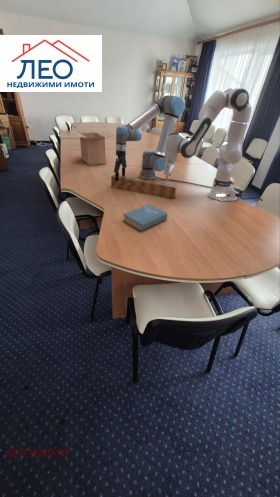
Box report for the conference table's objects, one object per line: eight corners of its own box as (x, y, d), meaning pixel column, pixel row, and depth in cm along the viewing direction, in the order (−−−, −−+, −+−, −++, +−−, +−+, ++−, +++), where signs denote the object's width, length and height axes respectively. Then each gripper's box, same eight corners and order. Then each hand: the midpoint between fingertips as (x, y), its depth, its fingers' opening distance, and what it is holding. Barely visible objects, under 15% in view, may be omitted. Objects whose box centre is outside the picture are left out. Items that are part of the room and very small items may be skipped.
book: (148, 210, 150) (149, 204, 147) (166, 220, 141) (167, 213, 138) (123, 221, 137) (123, 213, 134) (141, 231, 128) (142, 224, 125)
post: (111, 187, 181) (111, 176, 176) (113, 184, 185) (113, 174, 180) (173, 198, 170) (175, 187, 165) (175, 196, 174) (177, 185, 169)
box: (116, 165, 229) (116, 136, 213) (83, 168, 214) (80, 137, 198) (102, 154, 259) (101, 128, 243) (71, 156, 244) (68, 129, 228)
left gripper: (119, 154, 154) (118, 183, 166) (131, 147, 173) (130, 174, 186) (109, 152, 155) (109, 182, 168) (122, 146, 175) (121, 173, 187)
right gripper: (172, 162, 148) (169, 182, 156) (177, 155, 164) (174, 174, 172) (163, 161, 149) (160, 181, 157) (169, 154, 165) (166, 173, 173)
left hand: (120, 178), depth 177 cm, fingers open, 13 cm apart
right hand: (168, 177), depth 165 cm, fingers open, 8 cm apart
